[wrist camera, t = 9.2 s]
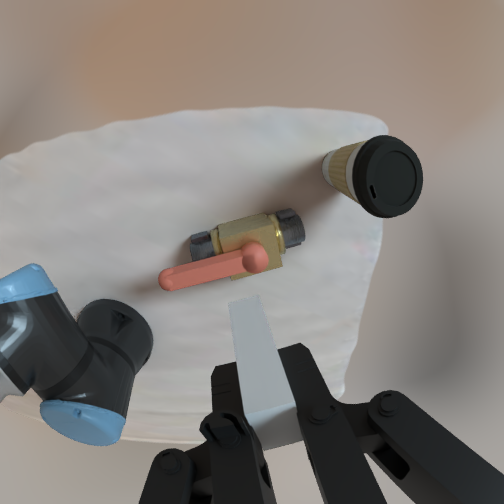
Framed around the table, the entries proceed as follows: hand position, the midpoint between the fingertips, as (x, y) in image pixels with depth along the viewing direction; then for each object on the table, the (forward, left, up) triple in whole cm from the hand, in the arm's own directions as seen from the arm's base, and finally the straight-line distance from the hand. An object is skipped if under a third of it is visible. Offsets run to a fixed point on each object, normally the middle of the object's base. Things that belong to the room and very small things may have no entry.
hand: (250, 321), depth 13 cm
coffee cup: (+19, +2, -29) cm, 34 cm away
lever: (-3, -5, -21) cm, 22 cm away
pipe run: (+2, -5, -28) cm, 29 cm away
